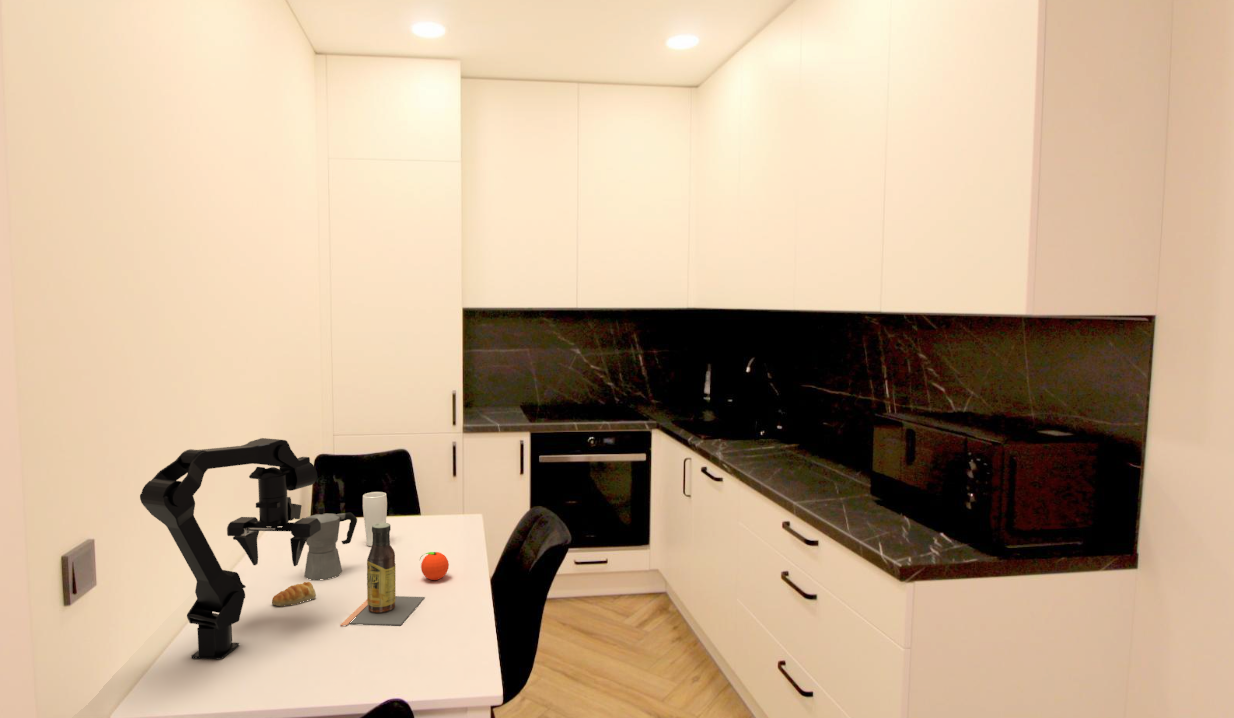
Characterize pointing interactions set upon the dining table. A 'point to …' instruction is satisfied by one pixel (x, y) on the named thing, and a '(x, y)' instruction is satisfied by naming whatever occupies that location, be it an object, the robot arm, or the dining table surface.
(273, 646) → the dining table surface
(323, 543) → the coffeepot
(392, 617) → the charcoal mat
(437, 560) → the clementine
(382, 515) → the drinking glass
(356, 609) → the terracotta line
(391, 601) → the sauce bottle
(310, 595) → the pastry
